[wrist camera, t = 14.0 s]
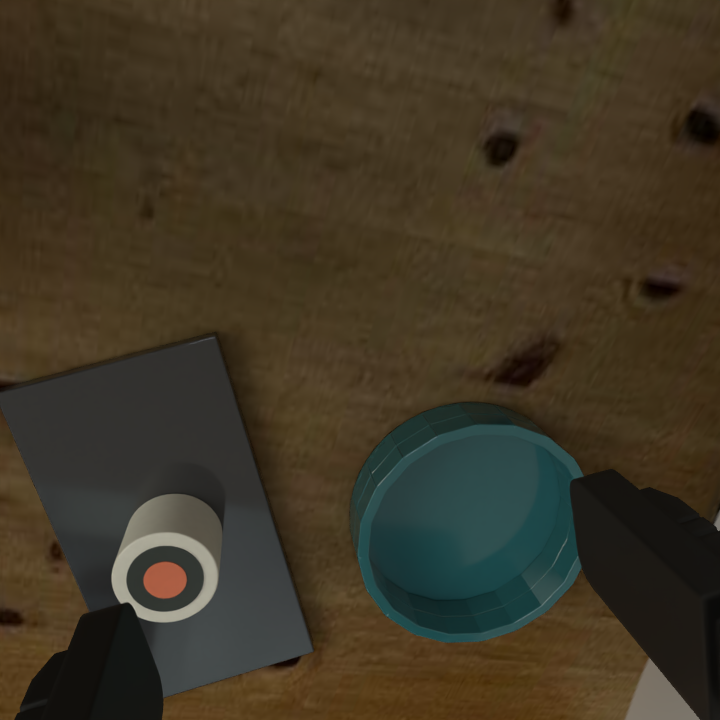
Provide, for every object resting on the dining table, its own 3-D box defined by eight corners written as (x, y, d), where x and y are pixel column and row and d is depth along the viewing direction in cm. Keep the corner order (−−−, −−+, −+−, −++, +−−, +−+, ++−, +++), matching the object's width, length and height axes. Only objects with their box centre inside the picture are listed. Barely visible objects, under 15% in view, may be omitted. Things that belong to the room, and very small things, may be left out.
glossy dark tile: (133, 695, 39) (130, 708, 38) (1, 387, 33) (-7, 393, 32) (313, 640, 40) (314, 652, 39) (216, 330, 34) (215, 335, 33)
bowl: (377, 629, 40) (388, 671, 37) (325, 438, 36) (332, 465, 33) (578, 568, 41) (606, 602, 38) (549, 375, 37) (578, 395, 34)
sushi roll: (145, 586, 36) (131, 637, 32) (113, 508, 34) (94, 552, 30) (233, 560, 36) (231, 607, 32) (206, 481, 35) (200, 521, 31)
